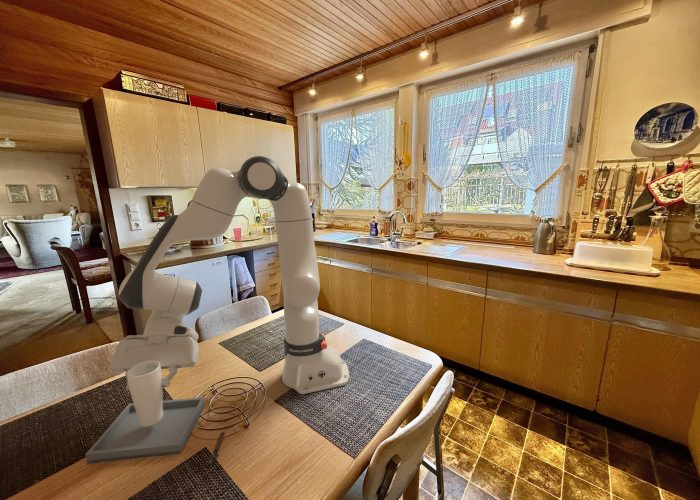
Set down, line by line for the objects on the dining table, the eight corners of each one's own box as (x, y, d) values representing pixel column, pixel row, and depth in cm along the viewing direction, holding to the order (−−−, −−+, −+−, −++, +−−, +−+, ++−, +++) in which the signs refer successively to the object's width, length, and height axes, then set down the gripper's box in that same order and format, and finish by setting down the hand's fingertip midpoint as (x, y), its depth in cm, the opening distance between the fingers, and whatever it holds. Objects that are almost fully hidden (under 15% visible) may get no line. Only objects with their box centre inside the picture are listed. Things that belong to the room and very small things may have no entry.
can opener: (221, 435, 73) (220, 431, 73) (230, 435, 73) (229, 431, 73) (202, 468, 64) (202, 464, 64) (213, 469, 64) (212, 464, 64)
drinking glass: (151, 432, 70) (143, 378, 66) (128, 427, 71) (119, 374, 68) (173, 412, 76) (167, 362, 73) (151, 407, 77) (144, 358, 74)
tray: (205, 404, 83) (204, 397, 82) (181, 453, 67) (179, 444, 67) (130, 411, 80) (129, 403, 80) (87, 463, 65) (85, 454, 64)
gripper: (115, 332, 75) (94, 389, 68) (197, 328, 78) (185, 382, 71) (128, 339, 81) (109, 393, 73) (204, 335, 83) (194, 386, 76)
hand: (147, 388), depth 72 cm, fingers closed on drinking glass, 6 cm apart
